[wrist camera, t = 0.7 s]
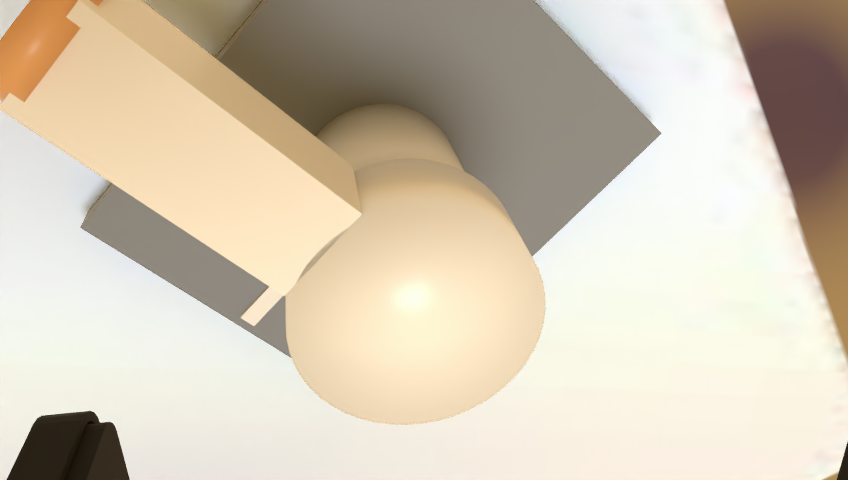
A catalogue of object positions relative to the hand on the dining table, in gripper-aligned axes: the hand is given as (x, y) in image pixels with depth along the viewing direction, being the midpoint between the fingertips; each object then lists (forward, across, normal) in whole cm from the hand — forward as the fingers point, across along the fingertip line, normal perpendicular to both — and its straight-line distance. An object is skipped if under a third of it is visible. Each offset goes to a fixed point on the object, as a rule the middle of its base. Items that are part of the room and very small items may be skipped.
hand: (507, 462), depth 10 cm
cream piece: (+18, +3, +3) cm, 18 cm away
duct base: (+27, 0, +7) cm, 28 cm away
